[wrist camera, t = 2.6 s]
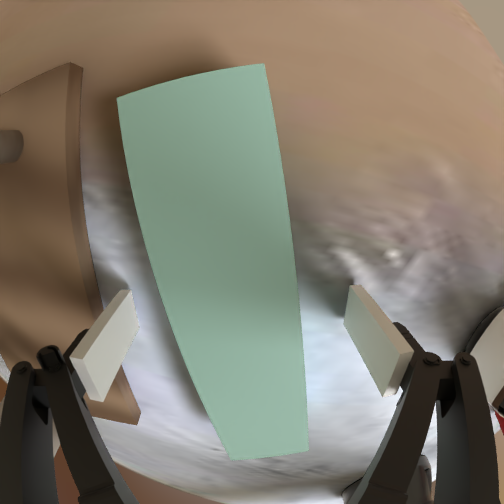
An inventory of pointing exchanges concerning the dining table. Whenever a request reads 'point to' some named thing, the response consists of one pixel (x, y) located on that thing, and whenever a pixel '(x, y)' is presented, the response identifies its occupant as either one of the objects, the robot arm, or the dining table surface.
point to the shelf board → (223, 250)
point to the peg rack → (48, 232)
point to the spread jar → (490, 357)
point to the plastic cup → (500, 421)
